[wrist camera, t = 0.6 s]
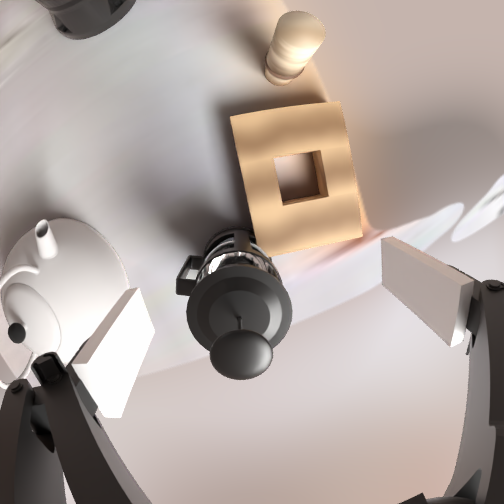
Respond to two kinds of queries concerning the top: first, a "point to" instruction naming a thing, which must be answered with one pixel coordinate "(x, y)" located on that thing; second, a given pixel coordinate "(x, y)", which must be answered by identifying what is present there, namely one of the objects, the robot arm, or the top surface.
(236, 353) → the french press
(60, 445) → the robot arm
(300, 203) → the board
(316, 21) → the peg
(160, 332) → the top surface
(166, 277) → the top surface
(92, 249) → the kettle
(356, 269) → the top surface
